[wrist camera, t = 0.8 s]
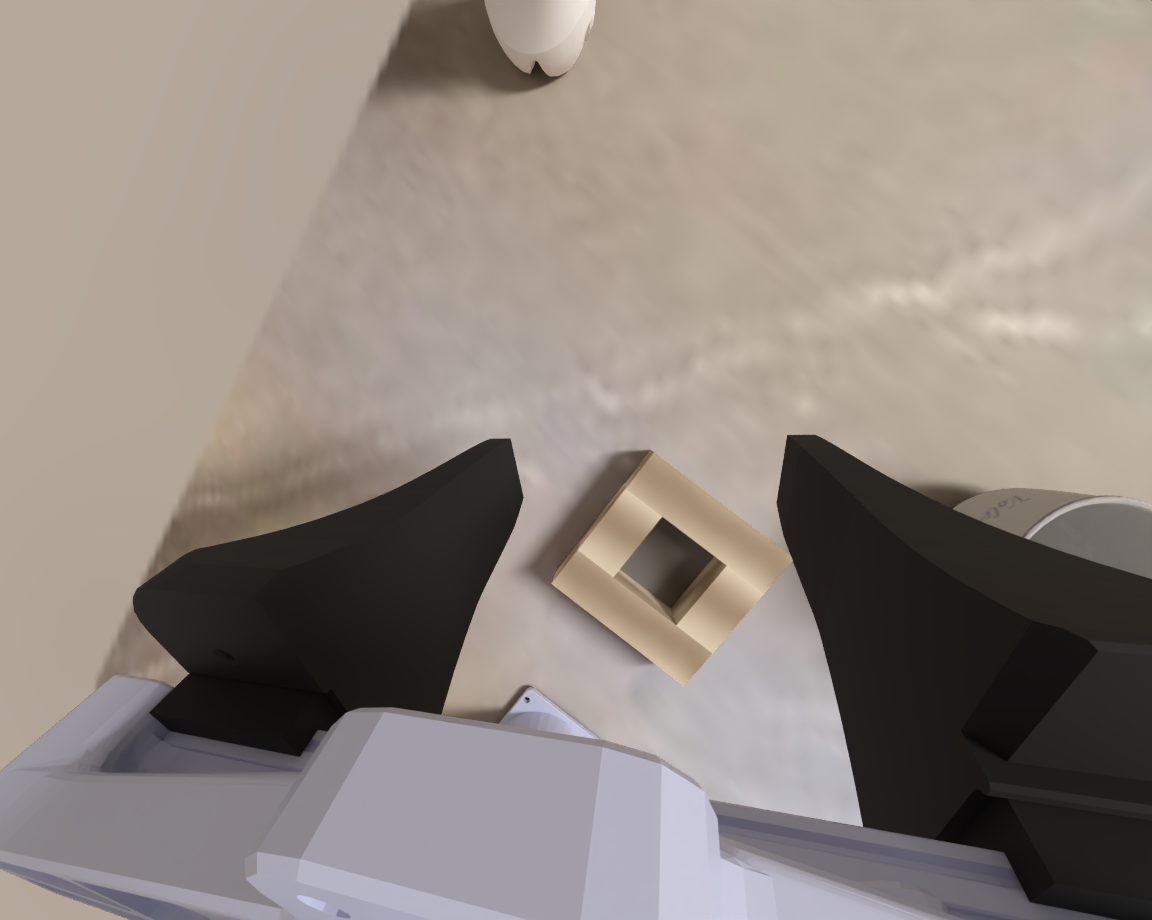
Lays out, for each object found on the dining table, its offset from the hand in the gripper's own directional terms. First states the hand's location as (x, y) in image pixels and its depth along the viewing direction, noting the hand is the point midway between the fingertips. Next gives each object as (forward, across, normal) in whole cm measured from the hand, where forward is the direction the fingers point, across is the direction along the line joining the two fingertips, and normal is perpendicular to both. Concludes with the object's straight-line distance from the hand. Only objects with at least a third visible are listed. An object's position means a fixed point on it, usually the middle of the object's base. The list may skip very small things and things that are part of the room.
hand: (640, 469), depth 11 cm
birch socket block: (+15, 0, +17) cm, 23 cm away
